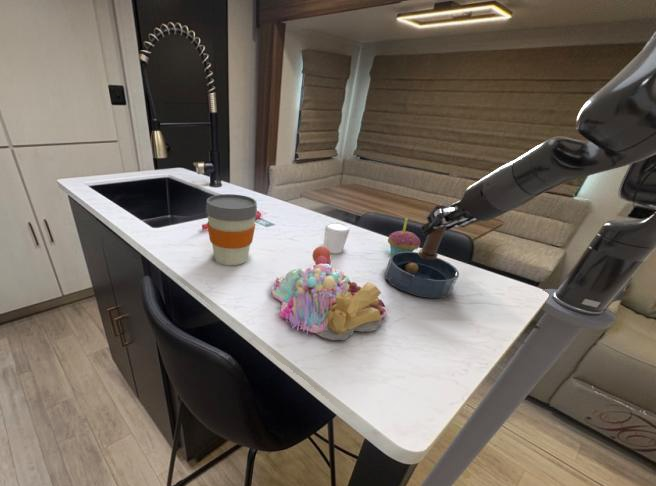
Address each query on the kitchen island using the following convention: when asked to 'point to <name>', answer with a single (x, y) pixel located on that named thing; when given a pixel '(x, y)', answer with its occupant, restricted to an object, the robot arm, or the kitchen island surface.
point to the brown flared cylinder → (433, 241)
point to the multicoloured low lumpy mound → (328, 300)
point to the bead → (411, 268)
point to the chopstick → (204, 226)
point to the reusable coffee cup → (231, 227)
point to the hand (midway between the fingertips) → (429, 230)
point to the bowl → (421, 275)
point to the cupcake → (403, 240)
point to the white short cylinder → (335, 237)
